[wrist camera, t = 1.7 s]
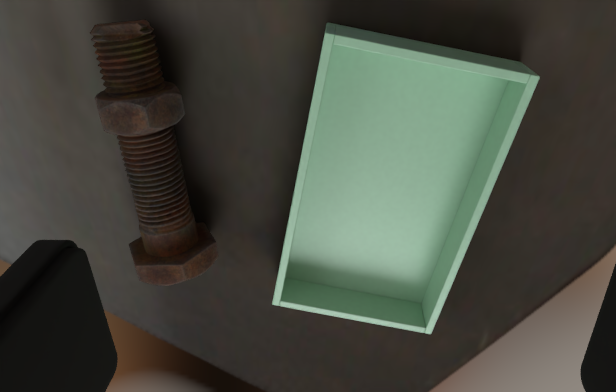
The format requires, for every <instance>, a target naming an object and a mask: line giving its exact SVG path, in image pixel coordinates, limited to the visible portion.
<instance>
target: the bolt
mask: <svg viewBox="0 0 616 392" xmlns="http://www.w3.org/2000/svg"><path fill="white" fill-rule="evenodd" d="M153 30H154V28H152V27H150V23H149V22H148V21H146V20H137V21H125V22H115V23H107V24H97V25H95V26H94V27H93V29H92V31H91V32H90V34H92V35H94V37H93V38H92V39H91V40H92V41H94V42H96V43H95V44H94V45H93V46H94V47H95V48H97V50H96V51H95V53H96V54H98V55H99V57H98V58H97V60H99V61H100V62H101V63H100V64H99V65H98V66H100V67H101V68H102V70H101V71H100V73H102V74H103V75H104V76H103V77H102V79H103V80H105V82H104V83H103V85H104V86H106V87H107V88H106V89H105V90H104V91H102V92H100V93H99V94H97V95H96V97H95V100H96V104H97V108H98V111H99V115H100V118H101V122H102V125H103V128H104V131H105V132H107V133H109V134H113V135H118V136H117V139H119V140H120V141H119V145H121V147H120V150H121V151H122V153H121V155H122V156H123V157H124V158H123V161H124V162H125V164H124V166H125V167H126V172H127V173H128V174H127V176H128V178H129V180H128V181H129V183H130V186H131V188H132V193H133V198H134V203H135V207H136V211H137V213H138V218H139V223H140V225H139V228H140V232H141V236H142V237H140V238H138V239H136V240H135V241H133V242H131V243H130V244H129V247H130V250H131V254H132V257H133V261H134V265H135V268H136V271H137V275H138V278H139V281H142V282H145V283H148V284H153V285H160V286H165V285H172V284H176V283H180V282H184V281H187V280H189V279H192V278H195V277H197V276H200V275H201V274H203V273H204V272H205V271H207V270H208V269H209V268H210V267H211V265H212V264H213V263H214V262H215V260H216V259H217V258H218V256H219V255H218V249H217V244H216V241H215V239H214V238H213V236H212V234H211V233H210V231H209V230H208V228H207V226H206V225H205V223H195V218H194V214H193V213H192V211H191V207H190V201H189V197H188V191H187V187H186V181H184V180H185V177H184V176H183V175H184V172H183V171H182V170H183V167H182V166H181V165H182V163H181V160H180V159H181V158H180V155H179V150H178V145H177V140H176V139H175V138H176V135H175V134H174V133H175V129H174V128H173V127H174V124H176V123H178V122H179V121H180V120H181V119H182V117H183V116H184V115H185V112H184V107H183V101H182V96H181V93H180V91H179V89H178V88H177V86H176V85H175V84H173V83H172V82H167V81H164V78H163V77H161V76H162V74H163V72H162V71H160V70H161V68H162V67H161V66H160V65H158V64H159V63H160V62H161V61H160V60H159V59H157V58H158V56H159V54H158V53H156V51H157V49H158V48H157V47H156V46H154V45H155V44H156V40H154V39H153V38H154V37H155V35H154V34H153V33H151V32H152V31H153Z"/></svg>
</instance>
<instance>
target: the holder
mask: <svg viewBox="0 0 616 392" xmlns="http://www.w3.org/2000/svg"><path fill="white" fill-rule="evenodd" d="M539 78H540V76H539V75H537V74H536V73H535V72H533V71H532V70H531V69H529V68H528V67H527V66H525V65H524V64H523V63H521V62H518V61H513V60H508V59H503V58H499V57H494V56H489V55H484V54H479V53H474V52H469V51H465V50H460V49H455V48H450V47H445V46H440V45H435V44H430V43H426V42H421V41H416V40H411V39H406V38H401V37H396V36H392V35H387V34H382V33H377V32H372V31H367V30H362V29H357V28H353V27H348V26H343V25H338V24H333V23H327V24H326V29H325V34H324V40H323V45H322V50H321V55H320V60H319V65H318V70H317V76H316V81H315V86H314V91H313V96H312V101H311V106H310V112H309V117H308V122H307V127H306V132H305V137H304V142H303V147H302V153H301V158H300V163H299V168H298V173H297V178H296V183H295V189H294V194H293V199H292V204H291V209H290V214H289V219H288V225H287V230H286V235H285V240H284V245H283V250H282V255H281V261H280V266H279V271H278V276H277V281H276V286H275V292H274V297H273V302H272V305H277V306H279V305H280V306H282V307H287V308H293V309H298V310H303V311H309V312H314V313H319V314H325V315H330V316H336V317H341V318H346V319H352V320H357V321H362V322H368V323H373V324H379V325H384V326H389V327H395V328H400V329H405V330H411V331H416V332H422V333H427V334H431V333H432V331H433V328H434V326H435V323H436V321H437V319H438V316H439V314H440V312H441V309H442V307H443V305H444V302H445V300H446V298H447V295H448V293H449V290H450V288H451V286H452V283H453V281H454V279H455V276H456V274H457V272H458V269H459V267H460V264H461V262H462V260H463V257H464V255H465V253H466V250H467V248H468V246H469V243H470V241H471V239H472V236H473V234H474V231H475V229H476V227H477V224H478V222H479V220H480V217H481V215H482V213H483V210H484V208H485V205H486V203H487V201H488V198H489V196H490V194H491V191H492V189H493V187H494V184H495V182H496V179H497V177H498V175H499V172H500V170H501V168H502V165H503V163H504V161H505V158H506V156H507V154H508V151H509V149H510V146H511V144H512V142H513V139H514V137H515V135H516V132H517V130H518V128H519V125H520V123H521V120H522V118H523V116H524V113H525V111H526V109H527V106H528V104H529V102H530V99H531V97H532V95H533V92H534V90H535V87H536V85H537V83H538V80H539Z"/></svg>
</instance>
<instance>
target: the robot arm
mask: <svg viewBox="0 0 616 392" xmlns="http://www.w3.org/2000/svg"><path fill="white" fill-rule="evenodd" d="M116 367H117V352H116V349H115V346H114V342H113V339H112V336H111V333H110V330H109V326H108V323H107V319H106V316H105V313H104V310H103V306H102V303H101V300H100V297H99V293H98V290H97V287H96V284H95V280H94V277H93V274H92V271H91V267H90V264H89V261H88V257H87V255H86V252H85V251H84V250H83V249H81V248H78V247H77V245H76V244H75V243H74V242H73V241H70V240H39V241H36V242H35V243H33V244H32V245H31V246H30V247H29V248H28V249H27V250H26V251H25V252H24V253H23V254H22V255H21V256H20V257H19V258H18V259H17V260H16V261H15V262H14V263H13V264H12V265H11V266H10V267H9V268H8V269H7V270H6V271H5V273H4V274H3V275H2V276H1V277H0V392H105V391H106V389H107V387H108V385H109V383H110V381H111V379H112V377H113V375H114V373H115V371H116ZM581 380H582V384H583V387H584V389H585V391H586V392H616V264H615V267H614V270H613V273H612V276H611V279H610V282H609V285H608V288H607V291H606V294H605V297H604V300H603V303H602V306H601V309H600V312H599V315H598V318H597V321H596V324H595V327H594V330H593V333H592V336H591V338H590V341H589V344H588V347H587V350H586V354H585V356H584V360H583V362H582V365H581Z"/></svg>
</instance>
